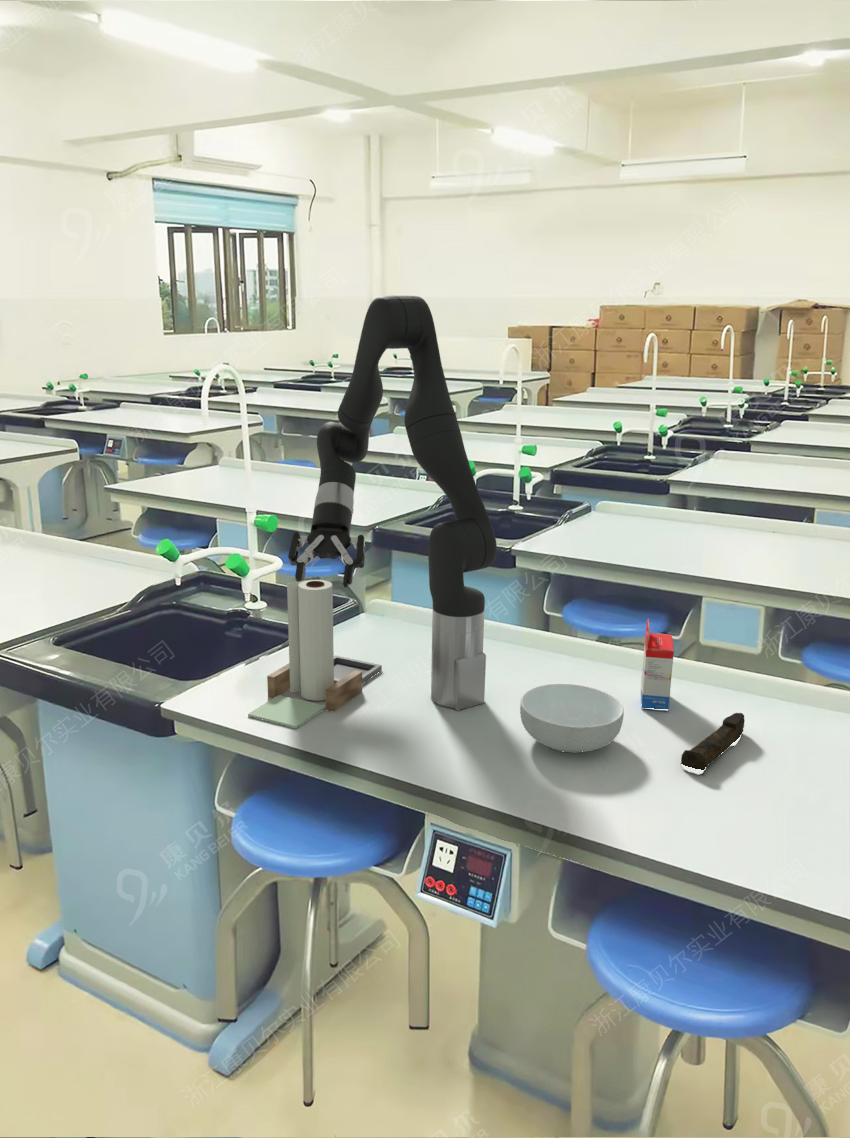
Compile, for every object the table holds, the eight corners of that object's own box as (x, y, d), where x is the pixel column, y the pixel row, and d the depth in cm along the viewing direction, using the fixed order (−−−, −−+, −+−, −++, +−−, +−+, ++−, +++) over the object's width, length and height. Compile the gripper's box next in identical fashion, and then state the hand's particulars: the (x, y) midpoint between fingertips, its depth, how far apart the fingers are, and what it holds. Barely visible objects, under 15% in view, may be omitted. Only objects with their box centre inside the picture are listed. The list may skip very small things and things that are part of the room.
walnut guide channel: (299, 677, 177) (298, 657, 176) (362, 691, 171) (362, 671, 170) (267, 696, 168) (267, 675, 167) (333, 712, 162) (333, 691, 161)
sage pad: (278, 697, 168) (278, 694, 168) (325, 708, 163) (325, 706, 163) (248, 716, 160) (248, 713, 160) (296, 728, 156) (296, 726, 156)
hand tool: (702, 779, 142) (705, 752, 140) (678, 770, 144) (681, 743, 143) (757, 740, 155) (760, 715, 154) (734, 732, 158) (737, 707, 156)
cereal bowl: (598, 777, 141) (601, 735, 139) (501, 750, 150) (502, 710, 148) (635, 735, 155) (638, 696, 153) (544, 711, 164) (546, 675, 162)
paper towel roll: (340, 694, 169) (339, 583, 163) (315, 704, 165) (313, 590, 159) (315, 683, 174) (313, 575, 168) (290, 693, 170) (286, 581, 164)
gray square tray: (335, 660, 185) (335, 655, 184) (381, 670, 180) (381, 665, 180) (305, 679, 176) (305, 673, 175) (353, 690, 171) (353, 684, 171)
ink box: (669, 712, 164) (676, 635, 160) (640, 710, 165) (647, 632, 161) (666, 693, 172) (674, 619, 168) (639, 691, 173) (646, 616, 169)
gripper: (293, 499, 177) (281, 573, 170) (367, 501, 176) (358, 576, 169) (300, 519, 184) (289, 592, 176) (371, 522, 183) (363, 595, 175)
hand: (323, 584), depth 172 cm, fingers open, 8 cm apart
